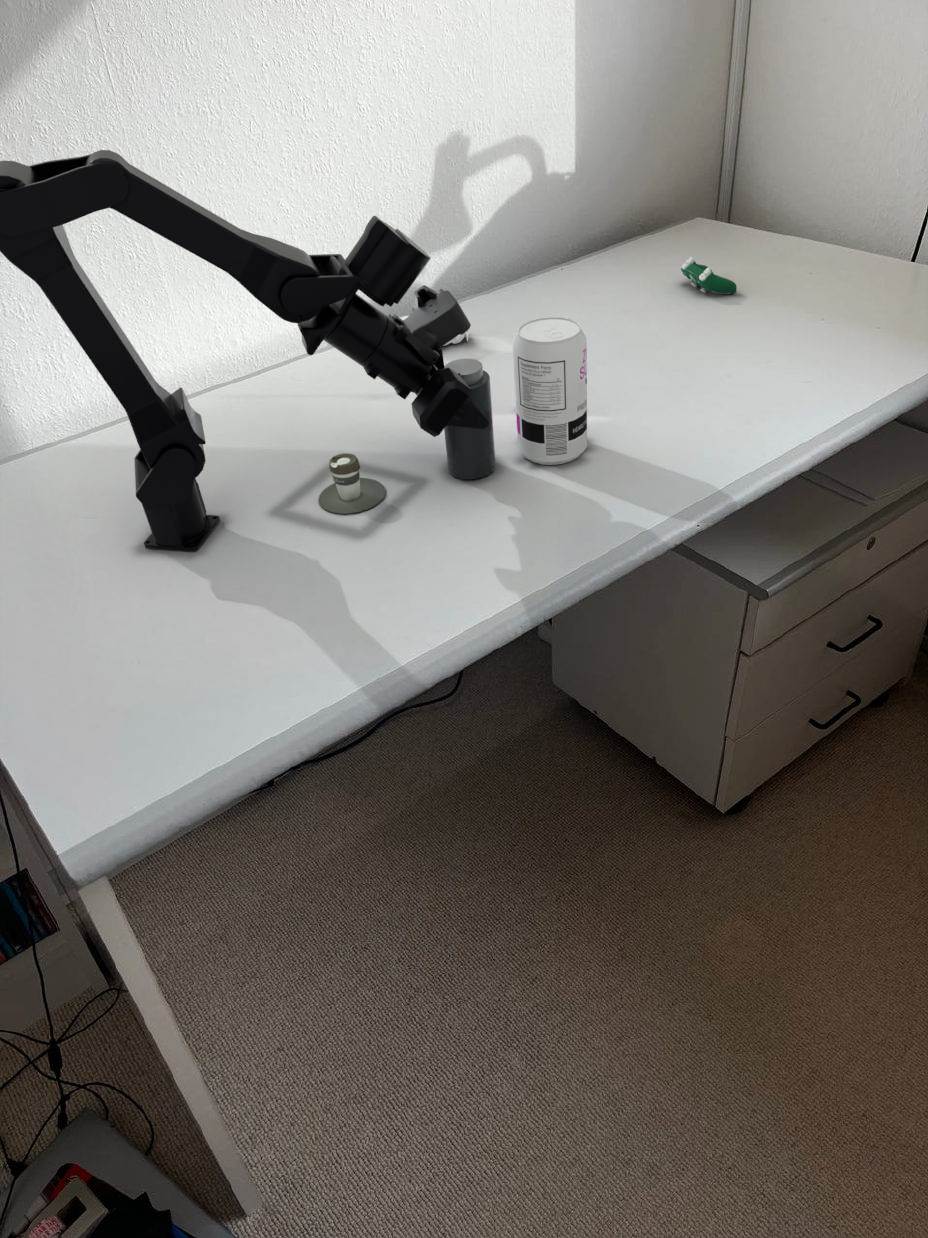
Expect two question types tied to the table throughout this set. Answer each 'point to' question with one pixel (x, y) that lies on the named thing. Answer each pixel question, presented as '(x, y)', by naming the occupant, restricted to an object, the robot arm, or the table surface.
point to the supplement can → (551, 389)
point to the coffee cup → (350, 488)
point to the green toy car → (707, 278)
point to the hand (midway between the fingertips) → (479, 413)
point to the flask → (472, 445)
